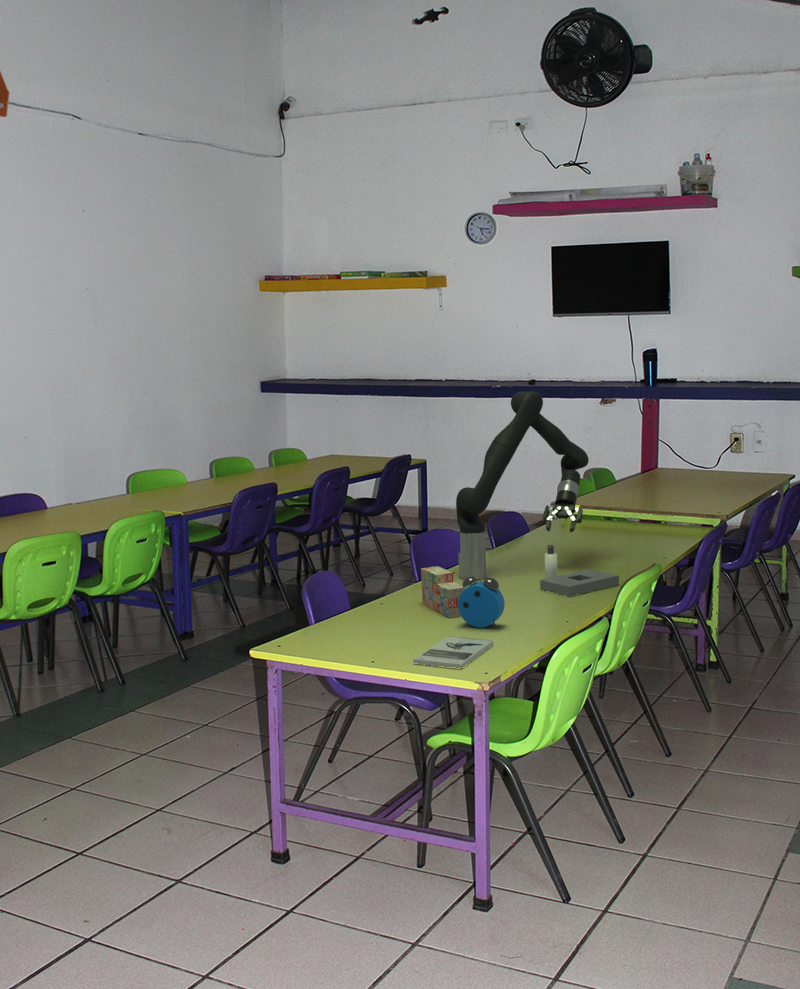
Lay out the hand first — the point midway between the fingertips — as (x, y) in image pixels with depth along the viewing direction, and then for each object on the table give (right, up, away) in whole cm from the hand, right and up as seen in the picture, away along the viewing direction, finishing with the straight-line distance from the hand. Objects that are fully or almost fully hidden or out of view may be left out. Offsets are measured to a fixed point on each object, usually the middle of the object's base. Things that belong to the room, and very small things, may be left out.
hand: (559, 530), depth 361 cm
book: (-43, -31, -90) cm, 105 cm away
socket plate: (+4, -19, -20) cm, 28 cm away
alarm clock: (-34, -27, -63) cm, 76 cm away
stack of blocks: (-44, -24, -41) cm, 65 cm away
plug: (-4, -18, -8) cm, 20 cm away
